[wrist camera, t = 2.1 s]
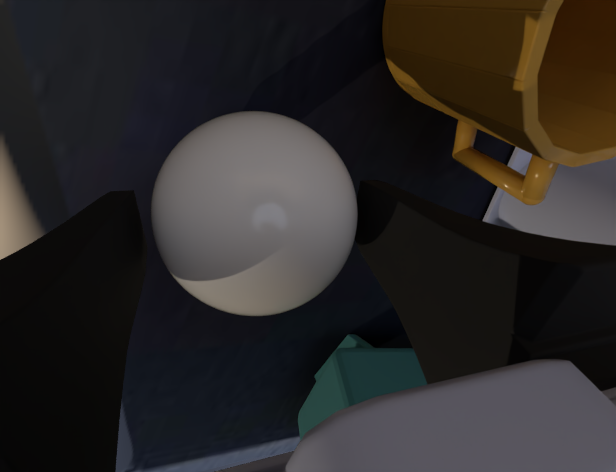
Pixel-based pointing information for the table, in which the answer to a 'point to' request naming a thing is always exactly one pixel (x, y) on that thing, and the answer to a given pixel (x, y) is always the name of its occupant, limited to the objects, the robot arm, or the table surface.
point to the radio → (358, 378)
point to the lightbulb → (254, 213)
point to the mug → (512, 79)
